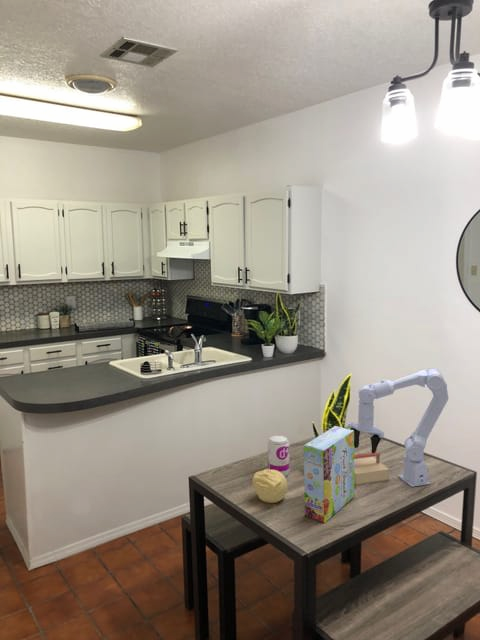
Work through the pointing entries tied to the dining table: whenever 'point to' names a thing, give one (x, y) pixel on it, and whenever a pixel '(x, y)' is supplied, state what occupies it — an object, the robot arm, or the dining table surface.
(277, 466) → the supplement can
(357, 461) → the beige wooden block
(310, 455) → the snack box
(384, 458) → the dining table surface
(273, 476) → the pale yellow round lump
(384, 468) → the carton
